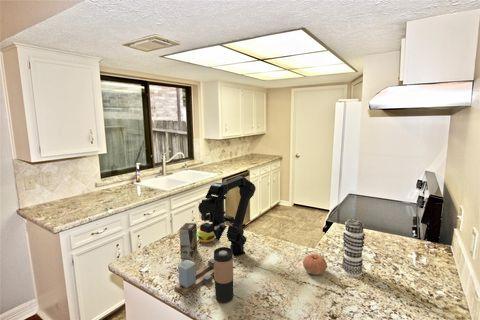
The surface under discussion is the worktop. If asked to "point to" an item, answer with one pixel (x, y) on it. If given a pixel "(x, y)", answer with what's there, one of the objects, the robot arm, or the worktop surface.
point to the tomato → (315, 264)
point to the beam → (204, 279)
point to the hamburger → (205, 236)
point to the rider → (186, 273)
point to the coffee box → (188, 240)
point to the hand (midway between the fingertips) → (217, 240)
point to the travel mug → (223, 274)
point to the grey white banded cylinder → (353, 247)
